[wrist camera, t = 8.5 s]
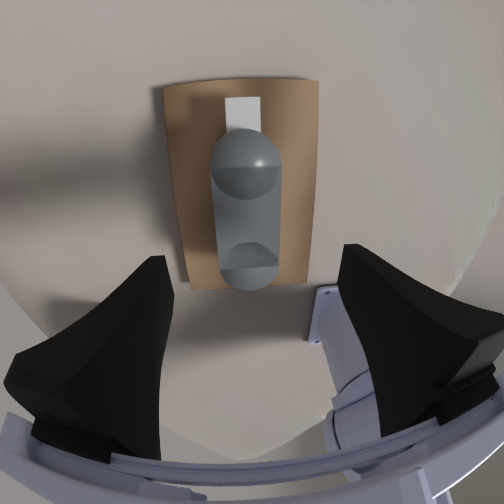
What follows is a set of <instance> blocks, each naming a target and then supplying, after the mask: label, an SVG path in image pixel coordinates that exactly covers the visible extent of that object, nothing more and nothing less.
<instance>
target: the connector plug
mask: <svg viewBox="0 0 504 504" xmlns="http://www.w3.org/2000/svg"><path fill="white" fill-rule="evenodd" d="M225 107H226V131H224V132H223V133H222V134H221V136H220V137H219V139H218V140H217V143H216V145H215V148H214V151H213V154H212V158H211V163H210V172H211V184H212V196H213V207H214V218H215V229H216V239H217V248H218V258H219V267H220V273H221V276H222V278H223V279H224V280H225V282H226V283H227V284H229V285H230V286H232V287H234V288H236V289H239V290H244V291H252V290H258V289H261V288H263V287H265V286H267V285H268V284H270V283H271V282H272V281H273V280H274V279H275V277H276V275H277V273H278V270H279V257H280V228H281V185H282V161H281V157H280V154H279V152H278V150H277V148H276V147H275V145H274V144H273V143H272V142H271V141H270V140H269V139H268V137H267V136H266V135H265V134H264V133H263V132H262V131H261V115H260V97H234V98H225Z"/></svg>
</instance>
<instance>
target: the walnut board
mask: <svg viewBox="0 0 504 504" xmlns="http://www.w3.org/2000/svg"><path fill="white" fill-rule="evenodd" d="M163 96H164V109H165V121H166V132H167V142H168V151H169V159H170V168H171V175H172V183H173V190H174V197H175V204H176V210H177V216H178V223H179V229H180V234H181V240H182V246H183V251H184V257H185V262H186V267H187V272H188V277H189V282H190V287H191V290H208V289H227V288H234V287H232V286H230V285H229V284H227V283H226V282H225V280H224V279H223V278H222V276H221V273H220V267H219V258H218V248H217V239H216V229H215V218H214V207H213V196H212V184H211V172H210V163H211V158H212V154H213V151H214V148H215V145H216V143H217V140H218V139H219V137H220V136H221V134H222V133H223V132H224V131H226V107H225V98H234V97H260V115H261V131H262V132H263V133H264V134H265V135H266V136H267V137H268V139H269V140H270V141H271V142H272V143H273V144H274V145H275V147H276V148H277V150H278V152H279V154H280V157H281V161H282V185H281V228H280V257H279V270H278V273H277V275H276V277H275V279H274V280H273V281H272V282H271V283H270V284H268V285H267V286H272V285H286V284H298V283H307V275H308V267H309V257H310V247H311V237H312V226H313V214H314V200H315V185H316V168H317V145H318V101H319V81H313V80H298V79H229V80H214V81H203V82H194V83H186V84H178V85H171V86H165V87H163Z"/></svg>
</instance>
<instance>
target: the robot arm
mask: <svg viewBox="0 0 504 504" xmlns="http://www.w3.org/2000/svg"><path fill="white" fill-rule="evenodd" d="M326 291H328V292H326ZM173 305H174V292H173V288H172V284H171V280H170V276H169V272H168V268H167V264H166V259H165V255H162V256H150V257H149V258H148V259H147V260H145V261H144V262H143V263H142V264H141V265H140V266H139V267H138V268H137V269H136V270H135V271H134V272H133V273H132V274H131V275H130V276H129V277H128V278H127V279H126V280H125V281H124V282H123V283H122V284H121V285H120V286H119V287H118V288H117V289H115V290H114V291H113V292H112V293H111V294H110V295H109V296H108V297H107V298H106V299H105V300H104V301H102V302H101V303H100V304H99V305H98V306H96V307H95V308H94V309H93V310H91V311H90V312H89V313H88V314H86V315H85V316H84V317H82V318H81V319H79V320H78V321H76V322H75V323H73V324H72V325H70V326H69V327H67V328H66V329H65V330H63V331H61V332H60V333H58V334H56V335H55V336H53V337H51V338H49V339H47V340H46V341H44V342H42V343H40V344H38V345H36V346H33V347H31V348H29V349H27V350H25V351H22V352H20V353H18V354H16V355H15V357H14V359H13V362H12V364H11V366H10V368H9V370H8V373H7V375H6V377H5V379H4V382H3V383H4V386H5V388H6V390H7V391H8V393H9V394H10V395H11V396H12V397H13V398H14V399H15V400H16V401H17V402H18V403H19V404H20V405H21V406H23V407H24V408H25V409H26V410H27V411H28V412H29V413H31V414H32V415H33V416H34V417H35V421H34V424H33V423H31V422H29V421H28V420H26V419H24V418H22V417H19V416H17V415H15V414H13V413H11V412H7V415H6V418H5V421H4V425H3V428H2V431H1V435H0V470H1V471H3V472H4V473H6V474H7V475H9V476H10V477H12V478H13V479H15V480H16V481H18V482H19V483H21V484H22V485H24V486H25V487H27V488H29V489H30V490H32V491H33V492H35V493H37V494H38V495H40V496H42V497H43V498H45V499H47V500H49V501H51V502H52V503H54V504H453V502H452V499H451V496H450V492H449V488H451V487H452V486H454V485H455V484H456V483H458V482H459V481H460V480H462V479H463V478H464V477H466V476H467V475H468V474H469V473H471V472H472V471H473V470H474V469H476V468H477V467H478V466H479V465H480V464H481V463H483V462H484V461H485V460H486V459H487V458H489V457H490V456H491V455H492V454H493V453H494V452H495V451H496V450H497V449H498V448H499V447H500V446H501V445H502V444H503V443H504V372H503V373H502V374H500V375H499V376H498V377H497V378H496V379H495V377H494V376H493V374H492V373H494V372H495V370H496V368H495V366H494V364H493V362H494V361H495V359H496V358H497V357H498V356H499V354H500V353H501V352H502V350H503V349H504V315H503V314H501V313H498V312H494V311H490V310H485V309H481V308H478V307H475V306H472V305H469V304H466V303H463V302H461V301H458V300H455V299H453V298H451V297H448V296H446V295H444V294H442V293H439V292H437V291H435V290H433V289H431V288H429V287H428V286H426V285H424V284H422V283H420V282H418V281H416V280H415V279H413V278H411V277H410V276H408V275H407V274H405V273H403V272H402V271H400V270H398V269H397V268H395V267H394V266H392V265H391V264H389V263H388V262H386V261H385V260H383V259H382V258H380V257H379V256H377V255H376V254H374V253H373V252H371V251H369V250H368V249H366V248H364V247H363V246H361V245H359V244H344V248H343V254H342V260H341V265H340V271H339V276H338V281H337V285H335V286H325V287H320V288H318V289H317V291H316V296H315V303H314V309H313V315H312V320H311V326H310V331H309V337H308V344H309V345H316V344H322V346H323V349H324V352H325V355H326V359H327V362H328V365H329V368H330V372H331V375H332V378H333V382H334V385H335V388H336V392H337V395H336V396H335V397H333V398H332V403H333V407H334V409H332V410H330V411H329V412H328V413H327V415H326V419H325V422H324V429H323V430H324V431H323V432H324V439H325V444H326V447H327V450H328V453H323V454H318V455H312V456H307V457H301V458H294V459H287V460H279V461H269V462H258V463H241V464H197V463H179V462H169V461H161V451H160V437H159V390H160V376H161V367H162V361H163V356H164V351H165V347H166V342H167V338H168V333H169V329H170V324H171V320H172V314H173ZM342 471H343V473H344V474H345V476H346V477H347V479H348V481H349V484H345V485H341V486H337V487H333V488H328V489H324V490H319V491H314V492H308V493H303V494H296V495H290V496H283V497H275V498H265V499H254V500H237V501H207V496H206V495H204V494H199V493H195V492H193V491H191V489H189V488H184V487H177V486H170V485H165V484H160V483H155V482H163V483H171V484H182V485H194V486H250V485H251V486H252V485H265V484H276V483H284V482H291V481H298V480H304V479H310V478H315V477H320V476H325V475H329V474H334V473H338V472H342ZM152 481H155V482H152Z"/></svg>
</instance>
